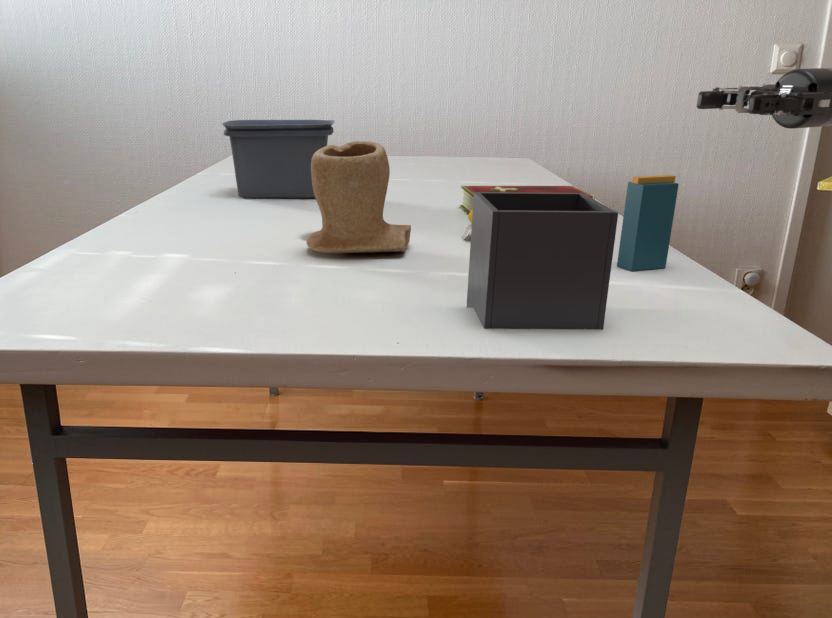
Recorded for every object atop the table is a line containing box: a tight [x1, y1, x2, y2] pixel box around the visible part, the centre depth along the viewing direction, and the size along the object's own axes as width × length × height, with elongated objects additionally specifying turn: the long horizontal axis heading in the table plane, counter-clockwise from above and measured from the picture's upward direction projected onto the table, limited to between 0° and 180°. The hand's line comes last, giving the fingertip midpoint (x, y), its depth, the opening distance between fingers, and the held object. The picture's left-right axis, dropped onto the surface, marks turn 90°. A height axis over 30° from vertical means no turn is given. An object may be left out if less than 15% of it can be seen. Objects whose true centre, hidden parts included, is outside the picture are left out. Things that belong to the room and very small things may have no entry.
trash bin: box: [465, 192, 619, 331], centre depth 76 cm, size 11×11×13 cm
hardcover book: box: [459, 185, 596, 216], centre depth 139 cm, size 12×21×4 cm, turn 94°
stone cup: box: [305, 140, 412, 254], centre depth 106 cm, size 15×12×15 cm
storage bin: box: [221, 119, 335, 199], centre depth 154 cm, size 21×16×14 cm
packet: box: [616, 174, 680, 272], centre depth 101 cm, size 6×3×12 cm, turn 110°
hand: (724, 102), depth 99 cm, fingers open, 8 cm apart
